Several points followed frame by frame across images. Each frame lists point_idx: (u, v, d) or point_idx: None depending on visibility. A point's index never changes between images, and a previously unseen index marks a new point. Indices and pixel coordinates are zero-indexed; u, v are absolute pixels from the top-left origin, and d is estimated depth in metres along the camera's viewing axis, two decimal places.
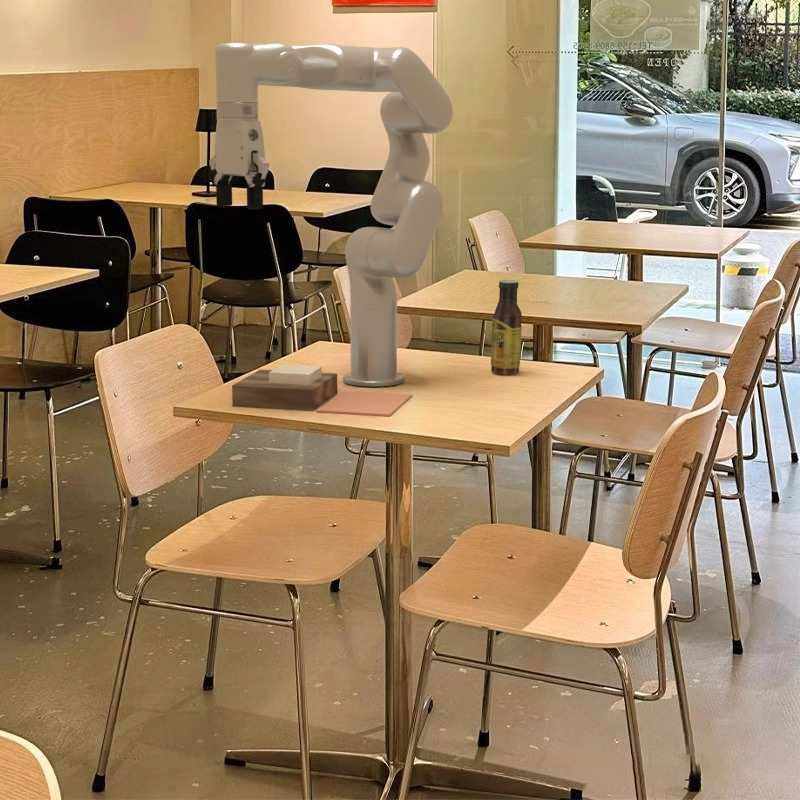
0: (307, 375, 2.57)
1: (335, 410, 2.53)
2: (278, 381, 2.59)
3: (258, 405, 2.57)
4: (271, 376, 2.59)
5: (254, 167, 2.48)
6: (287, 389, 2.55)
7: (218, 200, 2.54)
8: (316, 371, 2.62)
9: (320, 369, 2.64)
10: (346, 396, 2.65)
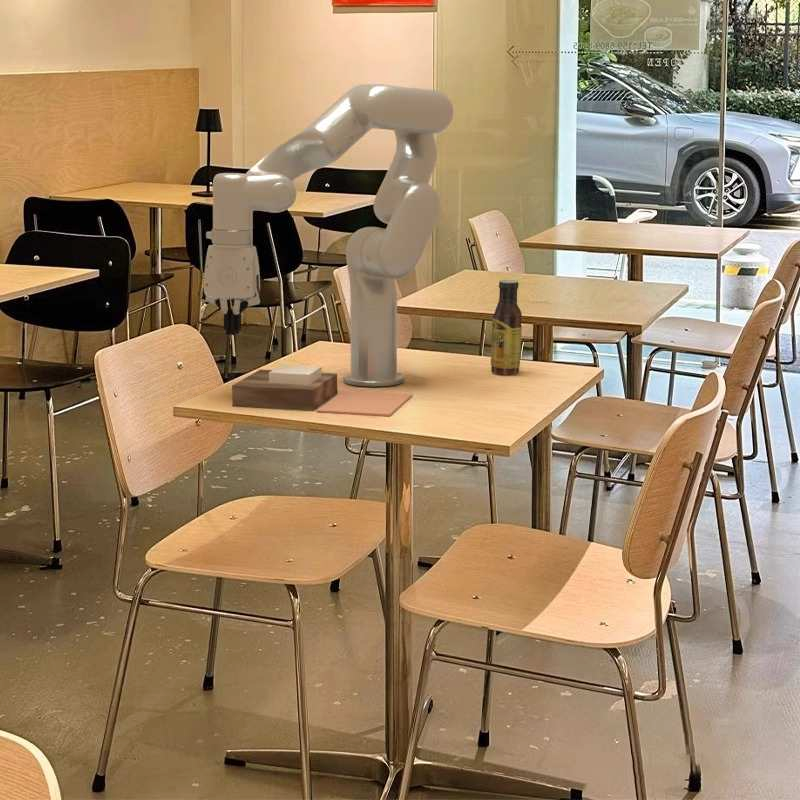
0: (307, 375, 2.57)
1: (335, 410, 2.53)
2: (278, 381, 2.59)
3: (258, 405, 2.57)
4: (271, 376, 2.59)
5: None
6: (287, 389, 2.55)
7: None
8: (316, 371, 2.62)
9: (320, 369, 2.64)
10: (346, 396, 2.65)
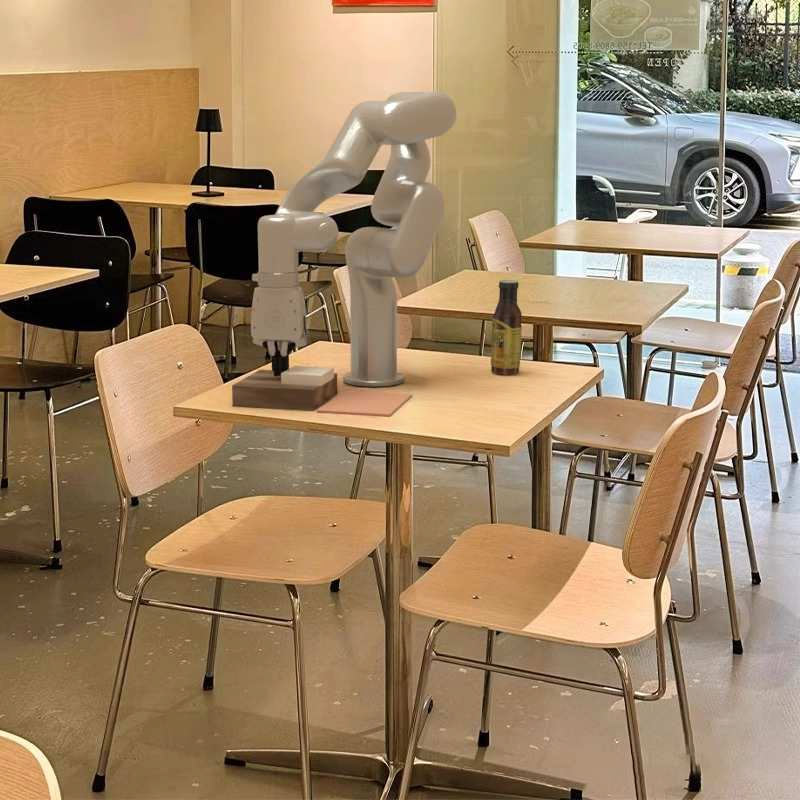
0: (319, 376, 2.56)
1: (335, 410, 2.53)
2: (290, 382, 2.58)
3: (258, 405, 2.57)
4: (283, 377, 2.58)
5: None
6: (287, 389, 2.55)
7: None
8: (328, 372, 2.61)
9: (332, 370, 2.63)
10: (346, 396, 2.65)
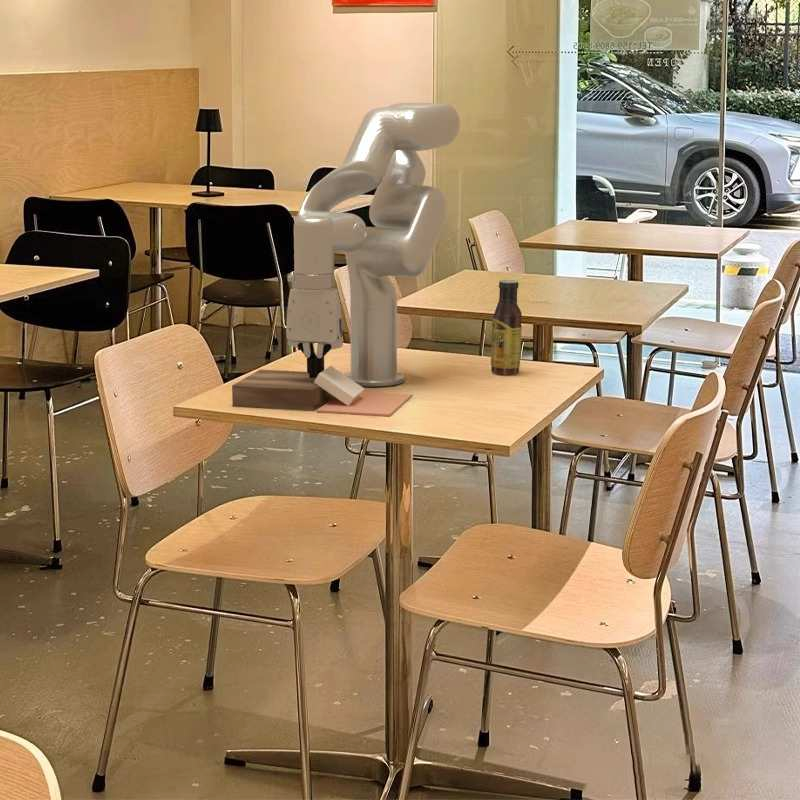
0: (351, 397, 2.56)
1: (335, 410, 2.53)
2: (322, 386, 2.57)
3: (258, 405, 2.57)
4: (319, 378, 2.57)
5: None
6: (287, 389, 2.55)
7: None
8: (359, 393, 2.60)
9: (362, 391, 2.63)
10: None
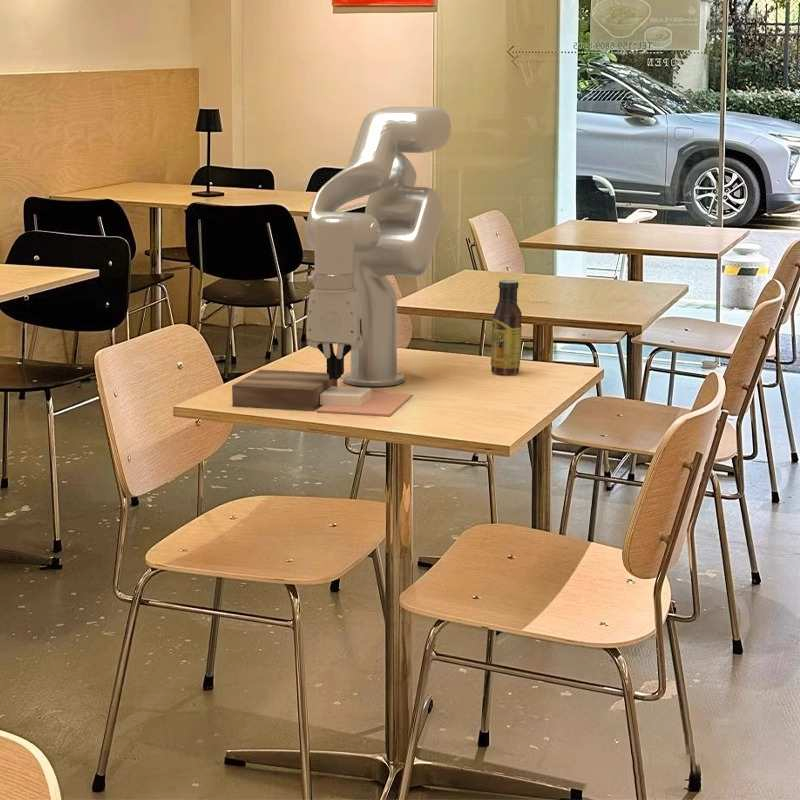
0: (359, 397, 2.55)
1: (335, 410, 2.53)
2: (329, 403, 2.57)
3: (258, 405, 2.57)
4: (322, 398, 2.57)
5: None
6: (287, 389, 2.55)
7: None
8: (367, 393, 2.60)
9: (370, 390, 2.62)
10: None
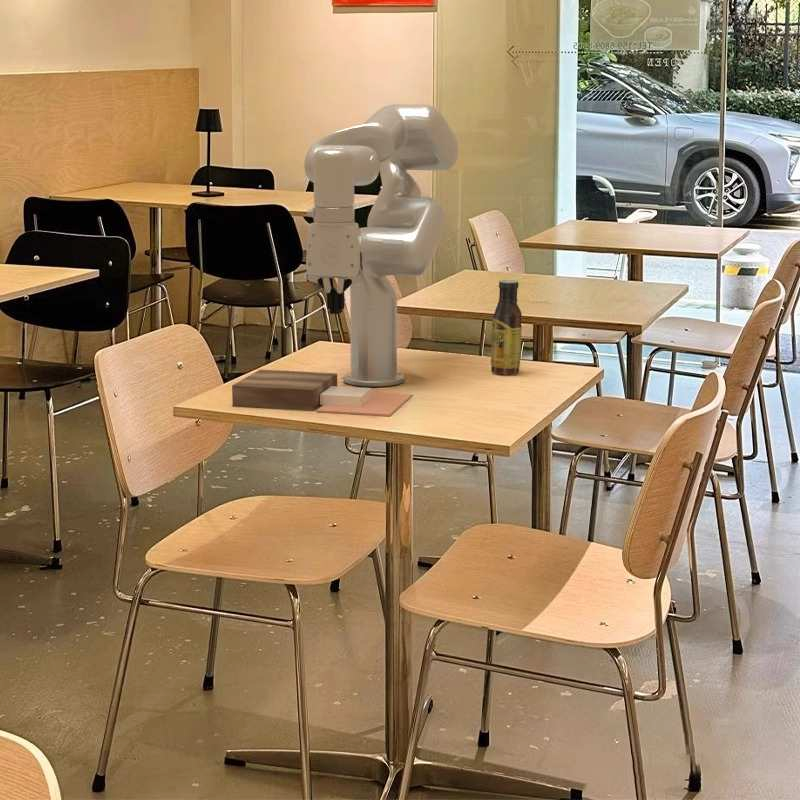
0: (359, 397, 2.55)
1: (335, 410, 2.53)
2: (329, 403, 2.57)
3: (258, 405, 2.57)
4: (322, 398, 2.57)
5: None
6: (287, 389, 2.55)
7: None
8: (367, 393, 2.60)
9: (370, 390, 2.62)
10: None
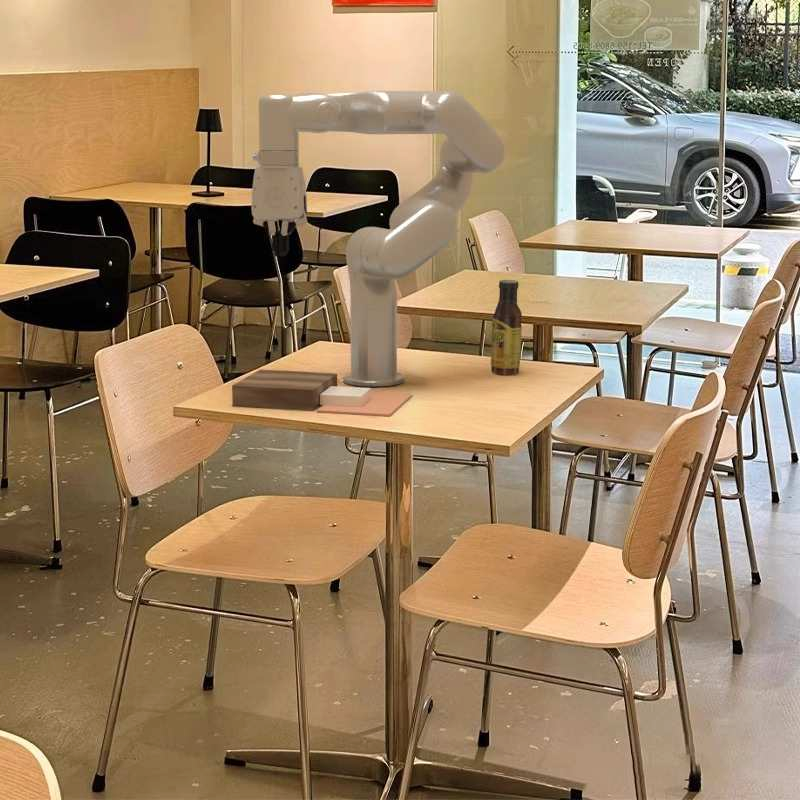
0: (359, 397, 2.55)
1: (335, 410, 2.53)
2: (329, 403, 2.57)
3: (258, 405, 2.57)
4: (322, 398, 2.57)
5: None
6: (287, 389, 2.55)
7: None
8: (367, 393, 2.60)
9: (370, 390, 2.62)
10: None
